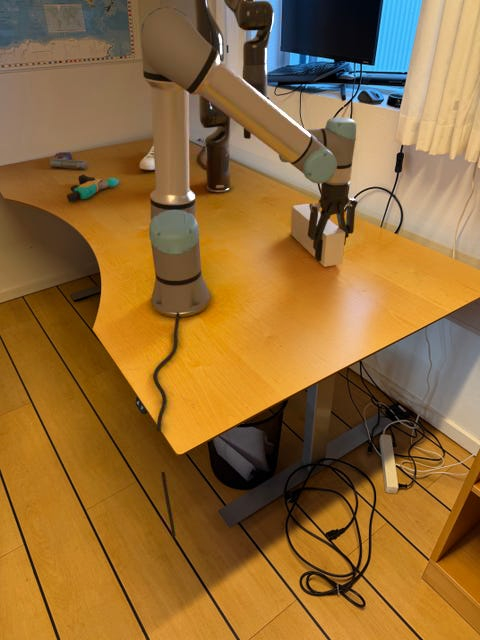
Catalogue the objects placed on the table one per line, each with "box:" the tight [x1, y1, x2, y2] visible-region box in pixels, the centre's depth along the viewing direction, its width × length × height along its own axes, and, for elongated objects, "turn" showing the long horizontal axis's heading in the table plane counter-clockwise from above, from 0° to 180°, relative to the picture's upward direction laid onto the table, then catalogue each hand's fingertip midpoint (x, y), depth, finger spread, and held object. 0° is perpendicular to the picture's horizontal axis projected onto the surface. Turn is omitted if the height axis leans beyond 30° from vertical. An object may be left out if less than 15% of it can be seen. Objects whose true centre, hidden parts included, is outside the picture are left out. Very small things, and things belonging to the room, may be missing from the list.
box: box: [290, 203, 345, 268], centre depth 145 cm, size 25×6×10 cm, turn 17°
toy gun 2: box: [66, 173, 120, 203], centre depth 188 cm, size 4×26×15 cm
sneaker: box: [139, 143, 155, 171], centre depth 214 cm, size 10×29×12 cm, turn 163°
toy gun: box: [48, 151, 87, 170], centre depth 217 cm, size 4×19×15 cm
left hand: (328, 257), depth 140 cm, fingers closed on box, 6 cm apart
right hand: (254, 135), depth 154 cm, fingers open, 8 cm apart
